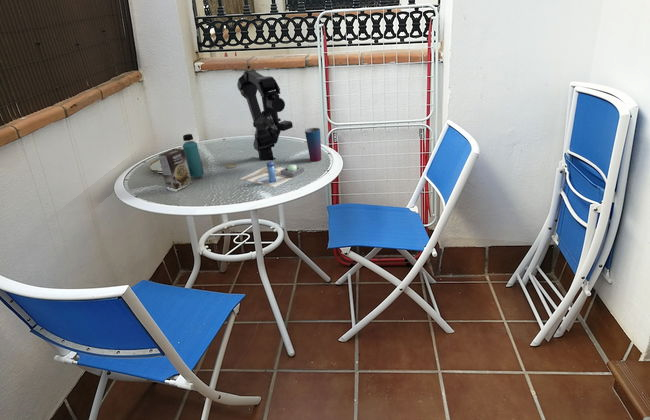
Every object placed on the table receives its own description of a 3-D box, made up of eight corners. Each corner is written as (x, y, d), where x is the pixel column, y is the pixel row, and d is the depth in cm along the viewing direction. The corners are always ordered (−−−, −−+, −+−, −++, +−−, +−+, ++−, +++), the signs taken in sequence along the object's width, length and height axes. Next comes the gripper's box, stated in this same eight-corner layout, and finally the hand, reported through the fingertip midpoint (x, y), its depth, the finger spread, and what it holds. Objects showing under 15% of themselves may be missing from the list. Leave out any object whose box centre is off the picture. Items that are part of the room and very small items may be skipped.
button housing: (281, 175, 207) (280, 170, 206) (292, 169, 212) (291, 165, 211) (293, 177, 203) (292, 173, 202) (304, 171, 207) (303, 167, 207)
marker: (267, 182, 201) (264, 163, 197) (272, 179, 203) (269, 161, 199) (273, 183, 199) (270, 164, 195) (278, 180, 201) (275, 162, 197)
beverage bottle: (207, 175, 219) (198, 132, 210) (199, 180, 213) (189, 137, 205) (195, 174, 221) (185, 132, 213) (187, 180, 215) (176, 137, 207)
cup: (321, 164, 217) (318, 131, 210) (307, 164, 218) (303, 132, 212) (324, 159, 223) (321, 127, 216) (310, 159, 224) (306, 128, 218)
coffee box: (177, 192, 203) (167, 156, 197) (166, 190, 207) (157, 154, 200) (192, 184, 210) (184, 149, 203) (182, 182, 214) (174, 147, 207)
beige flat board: (237, 181, 208) (236, 179, 208) (269, 166, 222) (269, 163, 221) (275, 190, 194) (275, 188, 194) (307, 173, 208) (307, 171, 207)
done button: (286, 173, 207) (285, 167, 206) (292, 170, 210) (291, 164, 208) (292, 175, 204) (292, 168, 203) (299, 171, 207) (298, 165, 206)
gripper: (241, 111, 205) (247, 146, 212) (272, 114, 194) (278, 151, 201) (259, 104, 213) (265, 138, 219) (291, 107, 202) (295, 143, 208)
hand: (275, 143), depth 212 cm, fingers closed
